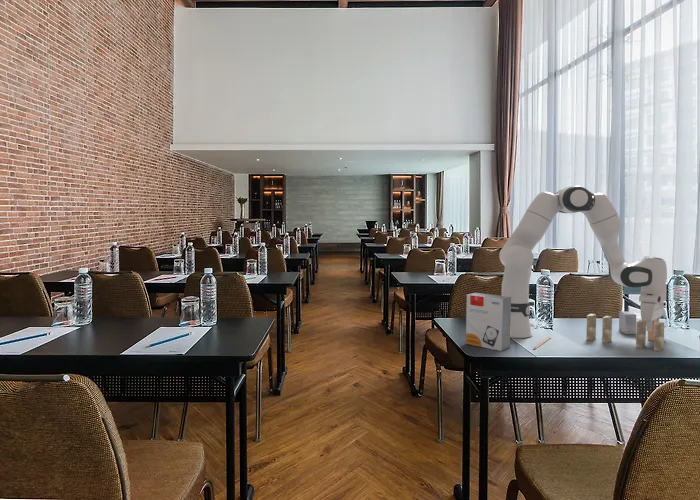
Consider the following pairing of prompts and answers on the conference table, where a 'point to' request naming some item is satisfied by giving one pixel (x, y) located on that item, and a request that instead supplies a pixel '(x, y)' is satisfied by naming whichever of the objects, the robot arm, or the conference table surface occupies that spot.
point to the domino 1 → (591, 327)
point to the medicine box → (627, 322)
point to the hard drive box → (488, 321)
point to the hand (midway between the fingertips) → (652, 329)
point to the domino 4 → (652, 333)
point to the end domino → (659, 336)
